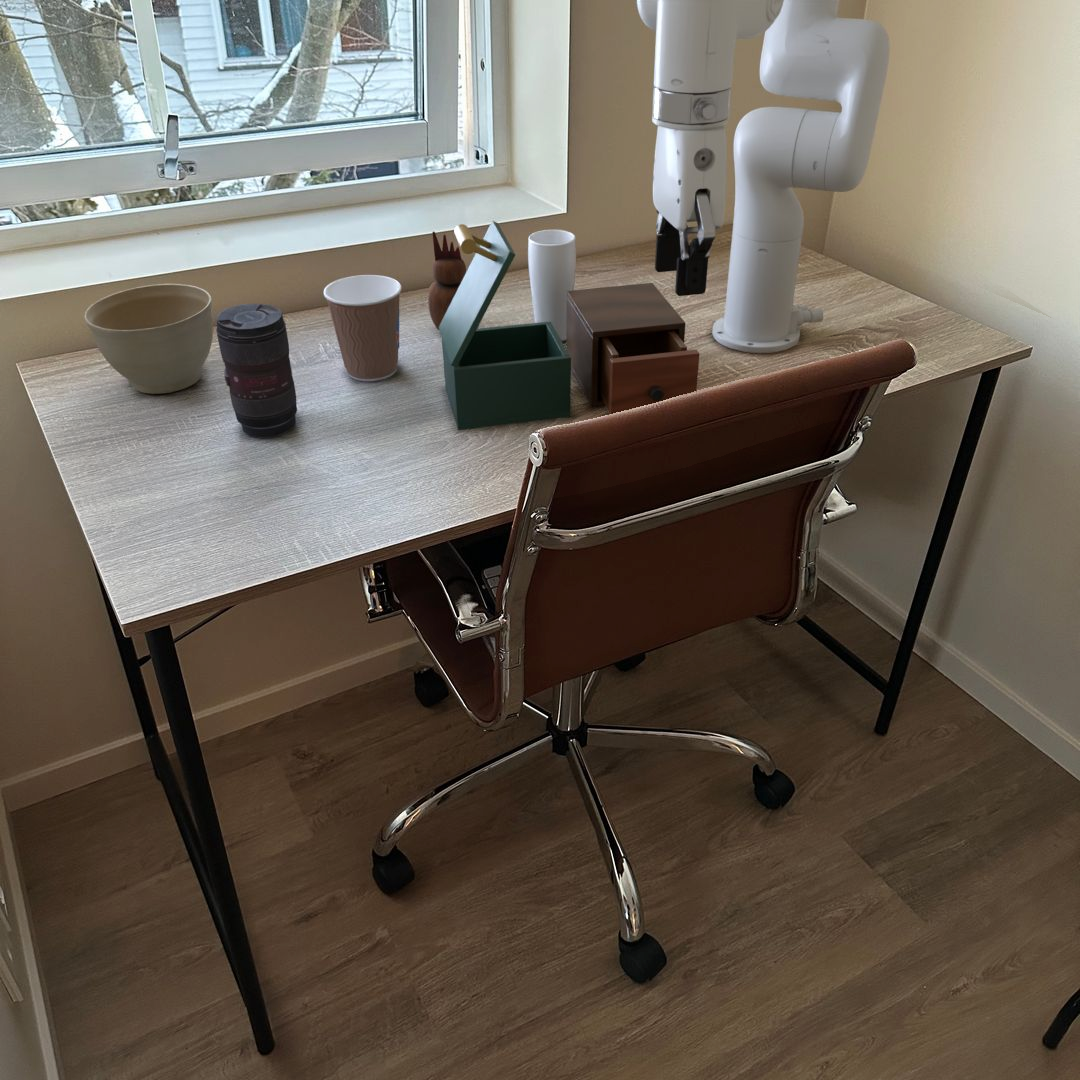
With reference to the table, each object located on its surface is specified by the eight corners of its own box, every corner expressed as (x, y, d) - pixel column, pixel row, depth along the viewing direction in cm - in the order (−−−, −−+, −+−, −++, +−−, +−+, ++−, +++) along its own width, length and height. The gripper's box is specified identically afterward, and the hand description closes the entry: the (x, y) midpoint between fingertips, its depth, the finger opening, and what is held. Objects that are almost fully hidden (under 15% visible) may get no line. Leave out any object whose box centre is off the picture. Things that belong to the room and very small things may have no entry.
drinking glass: (571, 348, 148) (571, 246, 139) (525, 344, 149) (523, 243, 140) (579, 329, 153) (580, 230, 144) (535, 326, 154) (533, 227, 146)
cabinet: (680, 398, 135) (685, 322, 128) (591, 408, 133) (592, 332, 126) (648, 353, 146) (652, 282, 140) (566, 362, 144) (566, 290, 138)
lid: (498, 223, 126) (459, 204, 124) (515, 254, 117) (474, 234, 115) (443, 330, 133) (405, 313, 130) (456, 368, 123) (416, 351, 121)
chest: (551, 378, 140) (550, 321, 135) (570, 417, 131) (571, 357, 126) (445, 389, 138) (441, 332, 133) (458, 430, 128) (453, 370, 123)
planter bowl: (222, 348, 150) (207, 276, 143) (231, 395, 137) (214, 319, 131) (106, 364, 146) (85, 291, 139) (104, 415, 133) (81, 337, 127)
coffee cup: (423, 373, 142) (415, 290, 135) (357, 394, 137) (346, 309, 130) (385, 348, 148) (376, 268, 142) (321, 368, 143) (309, 286, 137)
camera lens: (270, 447, 125) (248, 334, 117) (223, 431, 129) (198, 319, 120) (315, 420, 131) (297, 310, 122) (269, 405, 134) (248, 297, 126)
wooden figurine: (424, 334, 152) (415, 235, 144) (441, 320, 157) (434, 222, 148) (465, 341, 150) (459, 240, 142) (481, 326, 155) (476, 227, 146)
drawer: (697, 422, 127) (703, 357, 122) (613, 432, 125) (615, 367, 120) (662, 373, 139) (666, 312, 134) (584, 382, 137) (585, 320, 132)
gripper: (760, 124, 94) (741, 309, 104) (698, 85, 108) (686, 252, 118) (682, 129, 93) (671, 316, 103) (629, 90, 106) (623, 258, 117)
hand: (679, 280), depth 110 cm, fingers open, 6 cm apart
